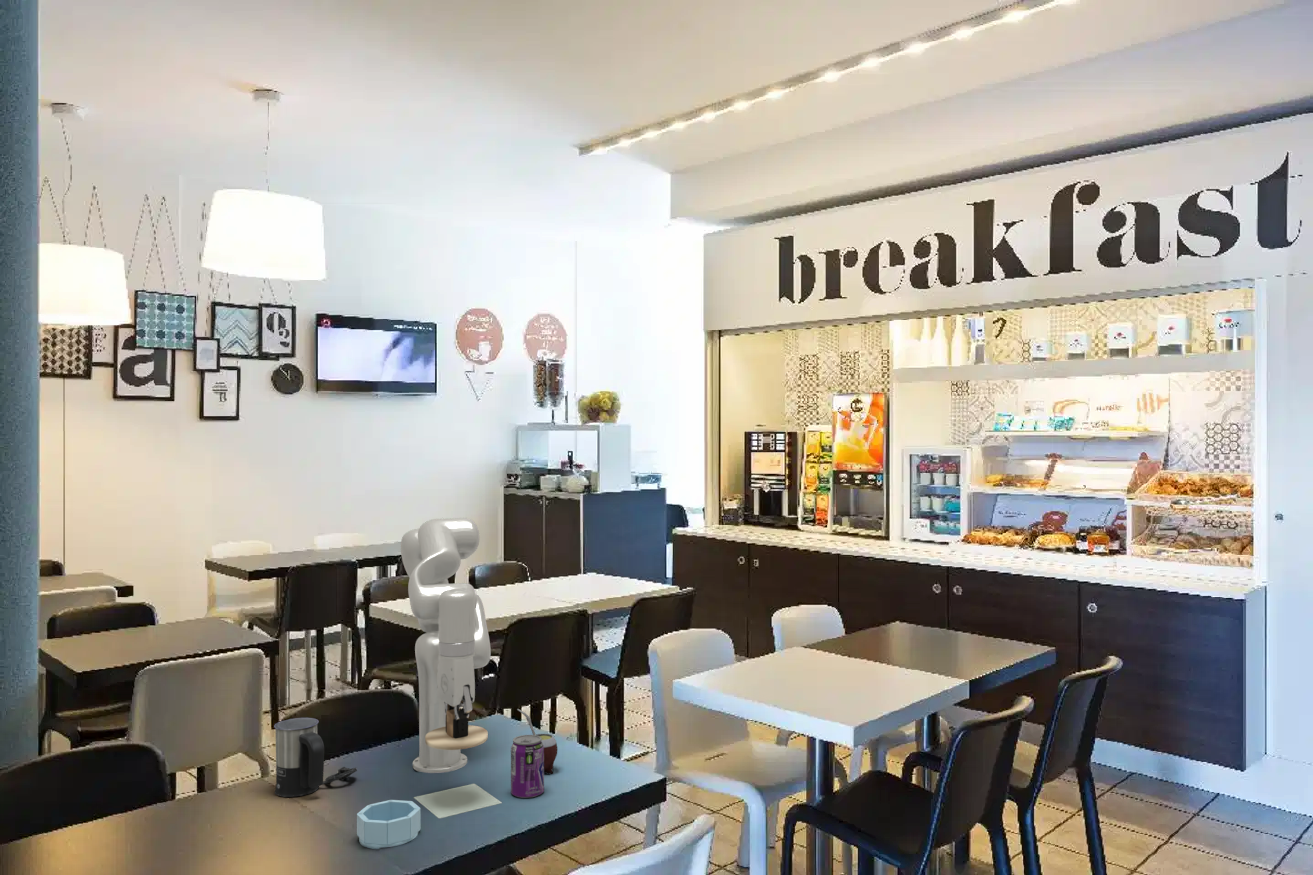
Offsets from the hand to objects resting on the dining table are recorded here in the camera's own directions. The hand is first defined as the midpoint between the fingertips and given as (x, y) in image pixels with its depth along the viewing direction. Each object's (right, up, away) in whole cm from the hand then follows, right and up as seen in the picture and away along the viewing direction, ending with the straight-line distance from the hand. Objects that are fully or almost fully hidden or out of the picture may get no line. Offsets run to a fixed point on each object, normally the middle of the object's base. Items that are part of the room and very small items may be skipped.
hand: (456, 733), depth 200 cm
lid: (0, -1, 0) cm, 1 cm away
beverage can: (+15, -15, +3) cm, 21 cm away
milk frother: (-33, -15, +9) cm, 37 cm away
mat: (0, -14, -1) cm, 14 cm away
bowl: (-9, -14, -18) cm, 25 cm away
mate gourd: (+16, -15, +18) cm, 28 cm away
